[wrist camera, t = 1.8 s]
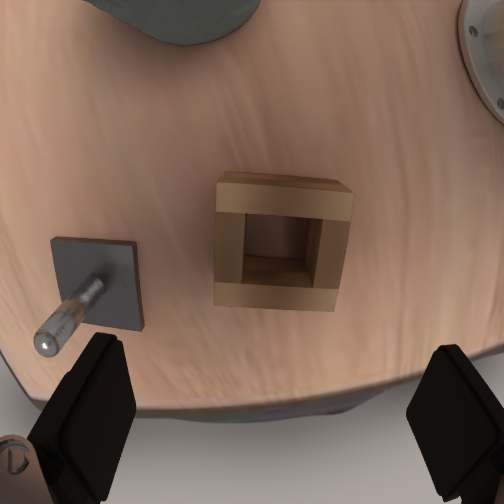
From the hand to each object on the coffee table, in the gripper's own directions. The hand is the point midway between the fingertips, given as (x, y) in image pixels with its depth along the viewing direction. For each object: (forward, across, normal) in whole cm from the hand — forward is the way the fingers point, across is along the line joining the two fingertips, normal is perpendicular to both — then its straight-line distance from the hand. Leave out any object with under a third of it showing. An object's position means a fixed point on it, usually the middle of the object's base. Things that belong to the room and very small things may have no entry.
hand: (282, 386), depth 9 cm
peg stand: (+14, +12, +4) cm, 19 cm away
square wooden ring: (+13, -1, -1) cm, 13 cm away
